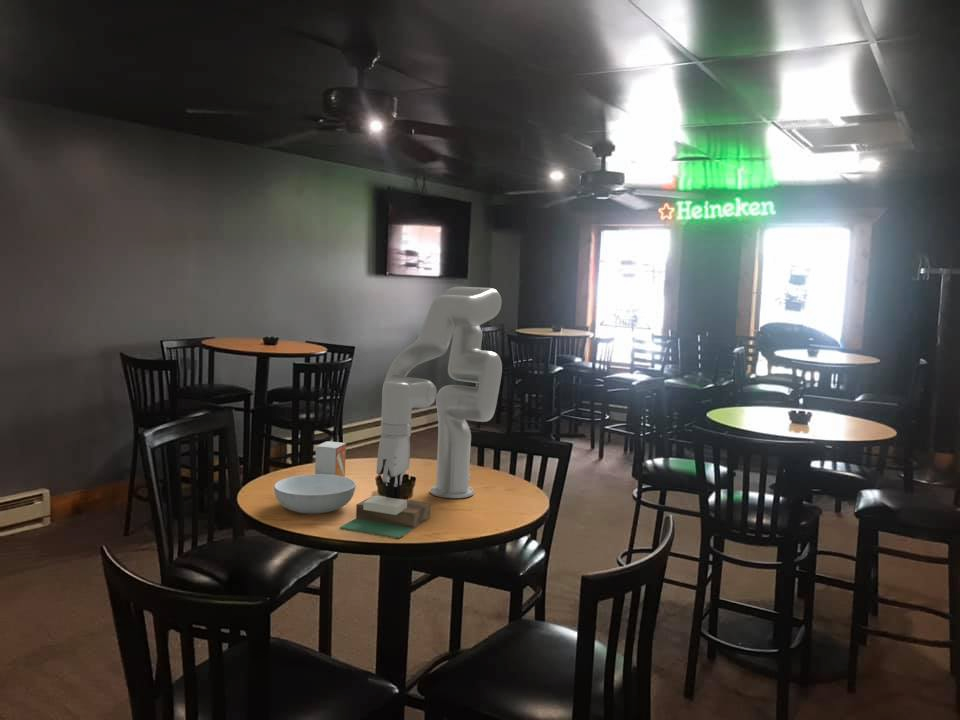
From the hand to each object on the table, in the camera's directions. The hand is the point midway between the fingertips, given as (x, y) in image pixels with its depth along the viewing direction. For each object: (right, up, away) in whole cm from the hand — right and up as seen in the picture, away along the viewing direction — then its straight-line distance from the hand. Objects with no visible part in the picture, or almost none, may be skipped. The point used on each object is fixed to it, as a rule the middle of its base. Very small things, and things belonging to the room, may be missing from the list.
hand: (393, 500), depth 189 cm
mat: (-3, -6, -8) cm, 10 cm away
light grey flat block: (-1, -1, -4) cm, 5 cm away
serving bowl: (-21, -4, +6) cm, 23 cm away
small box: (-21, -2, +27) cm, 34 cm away
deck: (0, -5, +1) cm, 5 cm away
